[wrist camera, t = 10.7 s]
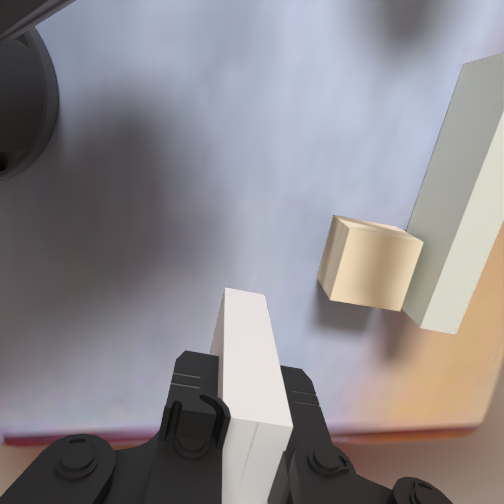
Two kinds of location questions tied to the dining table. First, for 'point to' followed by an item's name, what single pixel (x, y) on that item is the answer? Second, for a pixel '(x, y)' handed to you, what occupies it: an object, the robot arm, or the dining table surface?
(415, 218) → the board
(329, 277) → the birch block
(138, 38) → the dining table surface
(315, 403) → the robot arm
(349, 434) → the dining table surface
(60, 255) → the dining table surface
